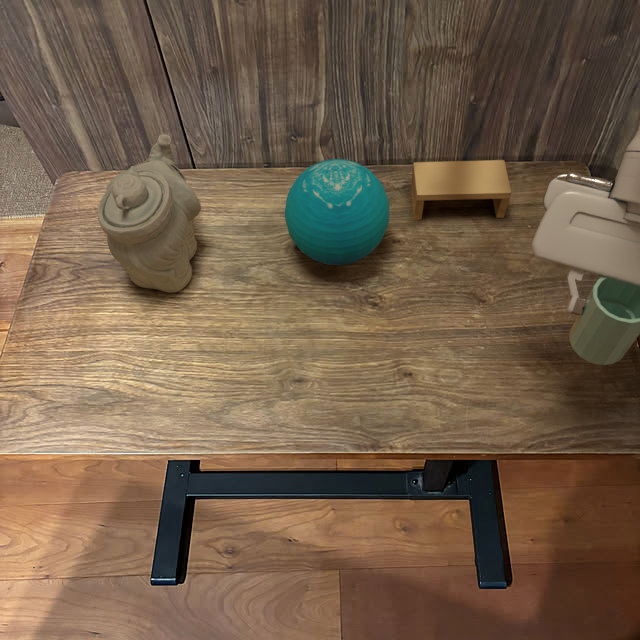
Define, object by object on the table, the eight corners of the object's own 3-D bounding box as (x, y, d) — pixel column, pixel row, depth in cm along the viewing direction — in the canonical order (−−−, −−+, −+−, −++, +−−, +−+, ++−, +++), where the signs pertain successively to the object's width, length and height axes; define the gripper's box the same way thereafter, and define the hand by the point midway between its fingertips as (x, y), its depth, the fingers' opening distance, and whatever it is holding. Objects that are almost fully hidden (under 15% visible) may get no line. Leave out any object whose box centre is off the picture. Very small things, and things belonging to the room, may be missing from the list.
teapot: (181, 201, 102) (151, 105, 86) (241, 250, 96) (220, 157, 80) (97, 258, 96) (47, 166, 80) (154, 315, 90) (113, 227, 74)
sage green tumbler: (624, 327, 70) (656, 278, 63) (624, 372, 67) (657, 327, 60) (569, 316, 71) (594, 268, 64) (566, 361, 68) (592, 315, 61)
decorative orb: (380, 206, 100) (385, 131, 87) (393, 281, 92) (400, 211, 79) (286, 214, 100) (277, 140, 87) (291, 290, 91) (282, 220, 79)
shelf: (497, 185, 101) (504, 159, 97) (503, 217, 97) (511, 192, 93) (410, 187, 102) (413, 162, 97) (413, 220, 98) (416, 195, 93)
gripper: (555, 164, 61) (509, 298, 64) (786, 220, 56) (724, 362, 59) (552, 168, 67) (511, 291, 70) (762, 219, 62) (706, 348, 65)
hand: (610, 324), depth 65 cm, fingers closed on sage green tumbler, 6 cm apart
